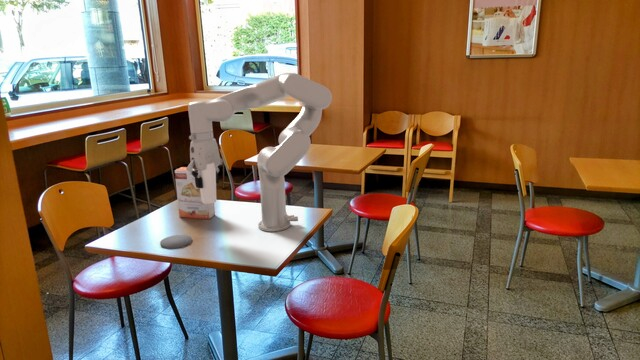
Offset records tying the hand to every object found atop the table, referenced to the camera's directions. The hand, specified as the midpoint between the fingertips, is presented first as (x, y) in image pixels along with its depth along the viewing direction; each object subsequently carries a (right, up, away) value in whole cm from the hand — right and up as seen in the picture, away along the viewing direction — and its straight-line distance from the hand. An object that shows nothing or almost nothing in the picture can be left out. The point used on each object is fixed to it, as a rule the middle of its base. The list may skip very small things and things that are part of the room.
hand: (207, 184), depth 161 cm
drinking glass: (0, -7, +2) cm, 7 cm away
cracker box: (-11, -14, +27) cm, 32 cm away
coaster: (-11, -21, 0) cm, 24 cm away
